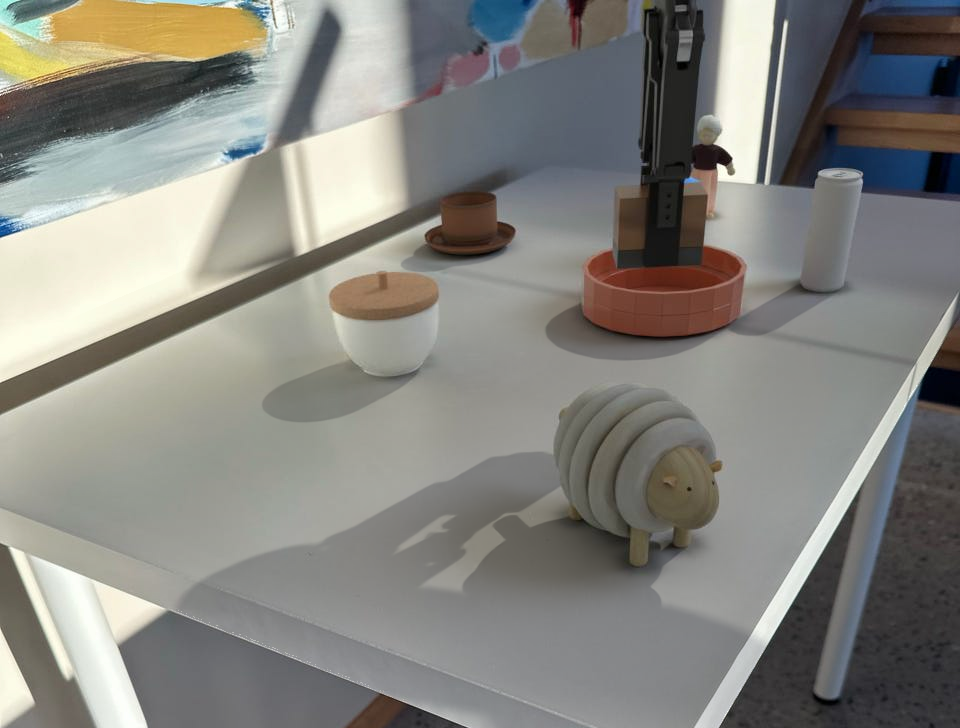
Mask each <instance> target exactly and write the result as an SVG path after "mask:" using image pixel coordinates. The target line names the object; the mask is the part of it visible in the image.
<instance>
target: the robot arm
mask: <svg viewBox="0 0 960 728" xmlns="http://www.w3.org/2000/svg"><path fill="white" fill-rule="evenodd" d="M641 13H642V14H641V32H642V34H643V45H642V59H641V66H642V69H641V71H642V72H641V92H640V93H641V94H640V115H639V116H640V117H639V118H640V119H639V137H638V139H637V145H638V148H639V150H640V153H639V154H640V155H639V158H640V160H641V164H646V165H640V181H639V183H640V184H639V185H648V197H647V215H646V233H645V251H644V267H645V268H650V267H671V266H678V259H679V246H680V233H681V220H682V207H683V194H684V181H685V179H689V177H690V175H691V172H692V169H693V166H692V164H691V159H692V148H693V146H694V135H695V123H696V112H697V101H698V91H699V90H698V89H699V77H700V67H701V60H702V55H703V54H702V53H703V46H704V42H705V41H706V33H705V29H704V9H698V6H697V0H650V7H649V8H646V7H645V8H643V9H642V12H641Z"/></svg>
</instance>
